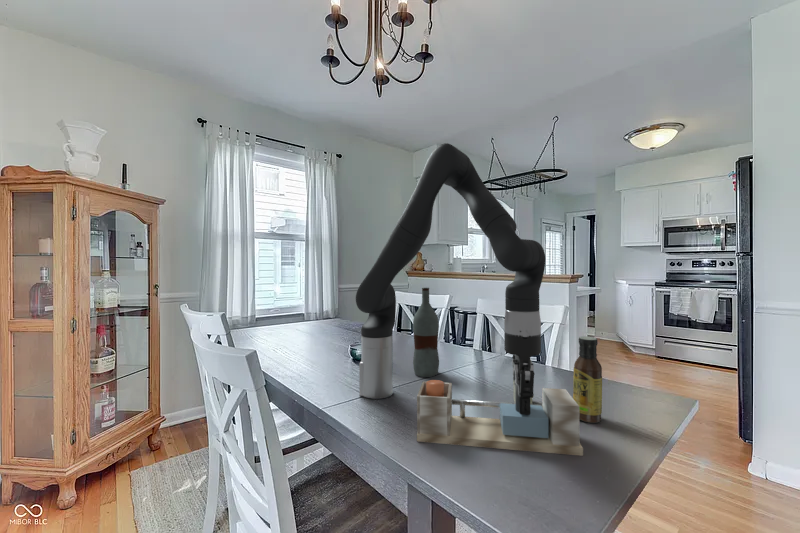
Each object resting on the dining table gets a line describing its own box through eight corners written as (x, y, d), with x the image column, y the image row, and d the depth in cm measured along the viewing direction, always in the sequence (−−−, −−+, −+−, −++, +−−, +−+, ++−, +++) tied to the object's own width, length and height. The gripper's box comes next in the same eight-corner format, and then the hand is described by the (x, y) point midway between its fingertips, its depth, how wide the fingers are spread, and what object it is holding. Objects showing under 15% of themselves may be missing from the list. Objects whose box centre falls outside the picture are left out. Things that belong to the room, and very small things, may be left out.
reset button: (425, 403, 79) (425, 385, 79) (427, 396, 83) (427, 379, 83) (443, 404, 79) (443, 386, 79) (444, 397, 83) (444, 380, 83)
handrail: (452, 417, 85) (451, 400, 85) (452, 415, 86) (452, 398, 86) (542, 424, 81) (542, 406, 81) (541, 421, 82) (541, 404, 82)
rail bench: (416, 441, 76) (416, 397, 76) (423, 419, 87) (422, 380, 87) (583, 455, 70) (582, 407, 70) (567, 430, 81) (567, 388, 81)
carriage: (503, 434, 75) (502, 387, 75) (500, 420, 82) (499, 376, 82) (548, 438, 73) (548, 389, 73) (541, 423, 80) (541, 378, 80)
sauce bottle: (567, 413, 90) (567, 335, 90) (591, 412, 91) (590, 334, 91) (583, 425, 84) (582, 340, 84) (608, 423, 84) (607, 339, 84)
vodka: (435, 378, 118) (434, 288, 118) (409, 376, 122) (408, 288, 122) (442, 371, 127) (441, 287, 127) (417, 368, 130) (417, 286, 130)
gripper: (501, 325, 85) (501, 396, 85) (508, 336, 71) (508, 422, 71) (534, 325, 84) (534, 398, 84) (547, 338, 70) (548, 425, 70)
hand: (522, 408), depth 77 cm, fingers open, 4 cm apart
